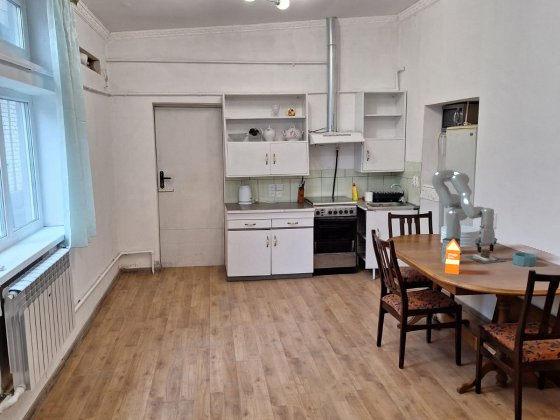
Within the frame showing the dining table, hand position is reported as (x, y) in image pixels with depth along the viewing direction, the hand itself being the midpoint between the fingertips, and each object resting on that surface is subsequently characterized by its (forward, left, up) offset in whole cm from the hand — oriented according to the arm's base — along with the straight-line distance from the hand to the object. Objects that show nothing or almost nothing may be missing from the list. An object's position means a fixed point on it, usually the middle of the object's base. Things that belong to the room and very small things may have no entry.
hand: (485, 251), depth 303 cm
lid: (0, 0, -5) cm, 5 cm away
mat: (0, 0, -5) cm, 5 cm away
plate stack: (+16, +47, -5) cm, 50 cm away
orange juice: (-39, -18, -5) cm, 43 cm away
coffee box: (-27, 0, -5) cm, 28 cm away
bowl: (+16, -17, -5) cm, 24 cm away
